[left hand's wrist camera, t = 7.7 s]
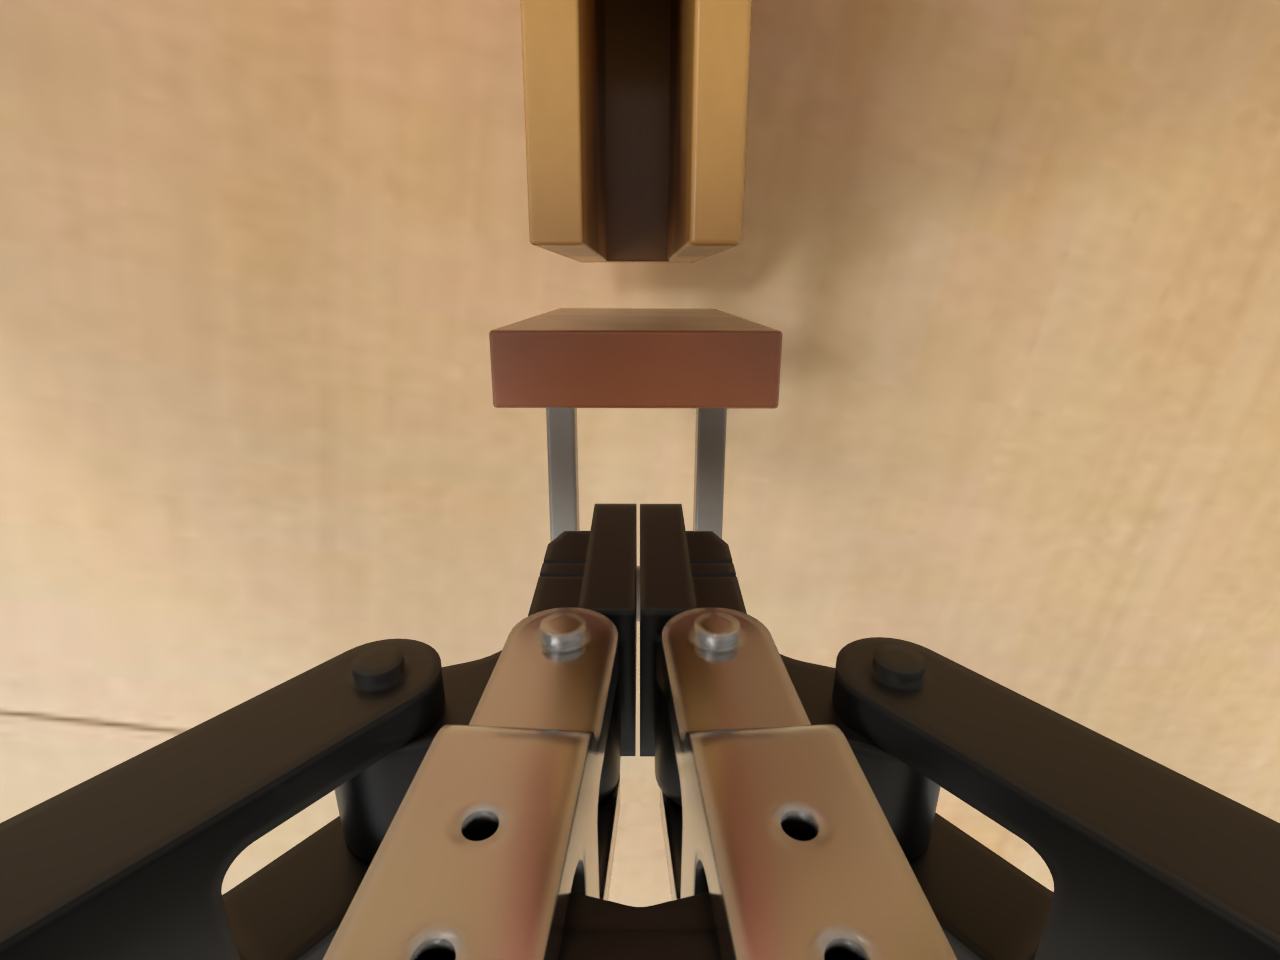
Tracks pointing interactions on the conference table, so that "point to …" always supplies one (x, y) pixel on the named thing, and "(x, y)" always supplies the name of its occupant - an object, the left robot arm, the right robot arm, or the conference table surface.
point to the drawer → (635, 224)
